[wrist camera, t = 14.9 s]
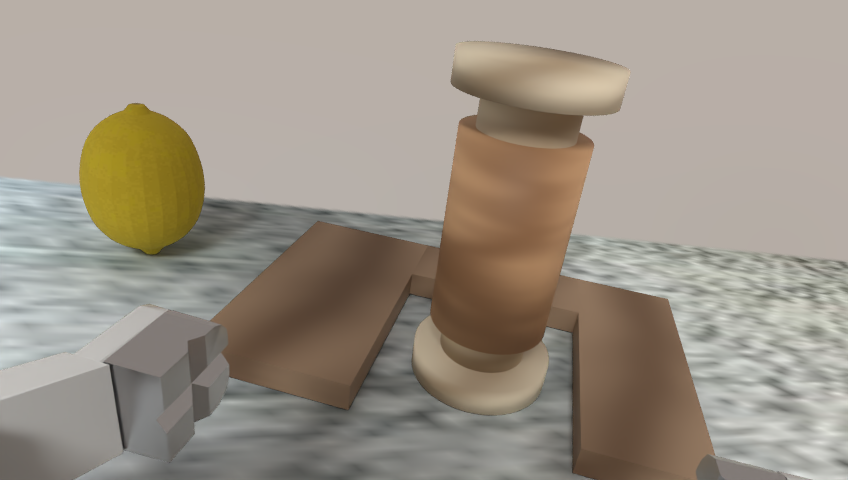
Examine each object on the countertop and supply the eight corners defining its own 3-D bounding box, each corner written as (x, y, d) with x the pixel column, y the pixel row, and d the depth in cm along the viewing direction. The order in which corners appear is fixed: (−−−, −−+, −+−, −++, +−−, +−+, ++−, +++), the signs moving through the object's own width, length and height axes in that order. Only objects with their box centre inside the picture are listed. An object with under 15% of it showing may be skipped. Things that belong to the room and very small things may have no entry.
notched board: (189, 365, 22) (187, 341, 22) (316, 239, 33) (317, 221, 33) (712, 512, 19) (724, 487, 18) (660, 317, 30) (668, 299, 29)
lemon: (228, 243, 31) (222, 103, 28) (162, 290, 26) (145, 127, 23) (144, 222, 32) (128, 84, 29) (65, 264, 27) (35, 104, 24)
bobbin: (395, 392, 22) (438, 52, 16) (428, 316, 27) (470, 36, 21) (539, 431, 21) (639, 85, 15) (545, 345, 26) (623, 60, 21)
